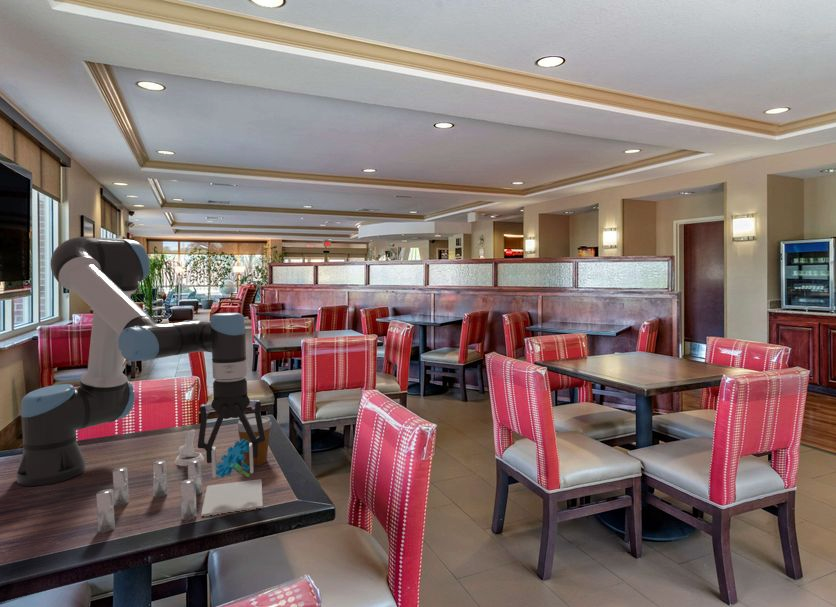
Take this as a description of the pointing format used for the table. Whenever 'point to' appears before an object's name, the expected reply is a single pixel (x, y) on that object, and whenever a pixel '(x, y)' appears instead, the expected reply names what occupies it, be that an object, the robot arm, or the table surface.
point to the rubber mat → (232, 497)
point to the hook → (188, 450)
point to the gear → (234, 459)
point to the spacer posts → (121, 494)
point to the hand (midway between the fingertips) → (233, 473)
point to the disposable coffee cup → (262, 445)
